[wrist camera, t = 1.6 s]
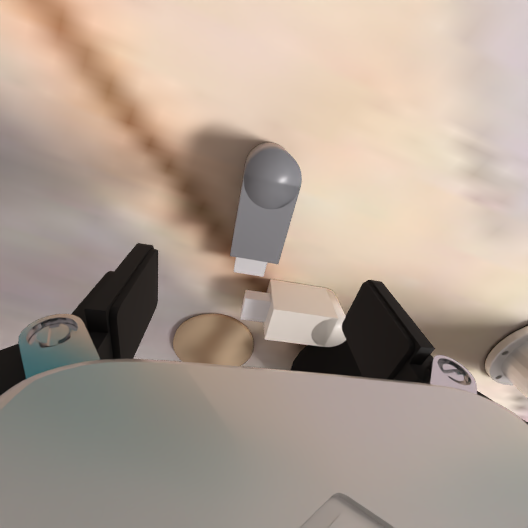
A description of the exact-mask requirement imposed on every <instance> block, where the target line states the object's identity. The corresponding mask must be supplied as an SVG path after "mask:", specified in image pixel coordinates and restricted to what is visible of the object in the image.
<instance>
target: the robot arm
mask: <svg viewBox="0 0 528 528" xmlns="http://www.w3.org/2000/svg"><path fill="white" fill-rule="evenodd" d="M157 302H158V250H156V249H154V247H153V245H147V244H140V243H138V244H136V246H135V247H134V248H133V249H132V251H131V252H130V253H129V254H128V255H127V257H126V258H125V259H124V260H123V262H122V263H121V264H120V265H119V266H118V268H117V269H116V270H115V271H109V272H107V273H106V274H105V275H104V277H103V278H102V279H101V280H100V281H99V282H98V284H97V285H96V286H95V287H94V288H93V289H92V291H91V292H90V293H89V294H88V295H87V296H86V298H85V299H84V300H83V301H82V302H81V303H80V305H79V306H78V307H77V308H76V309H75V310H74V312H73V313H72V314H55V315H50V316H46V317H44V318H41V319H38V320H36V321H35V322H33V323H31V324H29V325H28V326H27V327H26V328H25V329H24V330H23V331H22V332H21V334H20V335H19V341H18V343H19V344H16V345H14V346H11V347H8V348H5V349H3V350H0V528H528V422H526V421H524V420H523V419H521V418H520V417H519V416H517V415H516V414H515V413H513V412H512V411H510V410H508V409H507V408H505V407H503V406H502V405H500V404H498V403H496V402H494V401H492V400H491V399H489V398H488V397H486V396H484V395H483V394H481V393H480V392H478V391H477V385H476V381H475V379H474V377H473V376H472V374H471V373H470V372H469V371H468V370H467V369H466V368H465V367H464V366H463V365H461V364H460V363H459V362H457V361H455V360H454V359H452V358H449V357H447V356H443V355H437V356H435V357H434V358H433V357H432V356H431V355H430V354H431V353H432V352H433V350H434V349H435V348H434V347H433V346H432V344H431V343H430V342H429V341H428V339H427V338H426V337H425V336H424V334H423V333H422V332H421V331H420V329H419V328H418V327H417V326H416V324H415V323H414V322H413V321H412V319H411V318H410V317H409V316H408V314H407V313H406V312H405V310H404V309H403V308H402V307H401V305H400V304H399V303H398V302H397V300H396V299H395V298H394V297H393V295H392V294H391V293H390V292H389V290H388V289H387V288H386V287H385V285H384V284H383V283H382V282H380V281H374V280H368V281H366V282H364V283H363V284H362V286H361V288H360V290H359V292H358V294H357V296H356V298H355V300H354V301H353V303H352V305H351V307H350V309H349V311H348V313H347V315H346V317H345V319H344V321H343V323H342V331H343V333H344V336H345V338H346V340H347V342H348V345H349V347H350V349H351V352H352V354H353V356H354V358H355V361H356V363H357V365H358V367H359V370H360V372H361V374H362V377H356V376H346V375H335V374H324V373H313V372H301V371H290V370H279V369H267V368H255V367H243V366H231V365H219V364H207V363H194V362H181V361H167V360H149V359H133V357H134V355H135V353H136V351H137V349H138V346H139V344H140V342H141V340H142V338H143V335H144V333H145V331H146V329H147V327H148V324H149V322H150V320H151V318H152V316H153V313H154V311H155V309H156V306H157ZM485 370H486V372H487V374H488V375H489V376H490V377H491V378H492V379H493V380H494V381H496V382H498V383H501V384H505V385H514V386H515V387H516V388H517V389H518V390H519V391H520V392H521V393H522V394H523V395H524V396H525V397H526V398H527V399H528V326H526V327H524V328H522V329H520V330H517V331H515V332H514V333H512V334H510V335H509V336H507V337H506V338H504V339H503V340H502V341H501V342H499V343H498V344H497V345H496V346H495V347H494V348H493V349H492V351H491V352H490V353H489V355H488V357H487V359H486V362H485Z"/></svg>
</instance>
